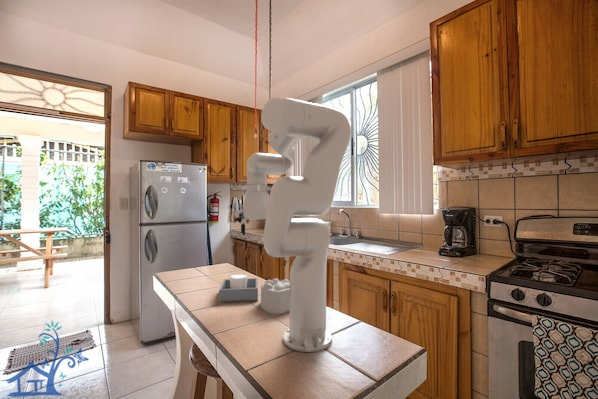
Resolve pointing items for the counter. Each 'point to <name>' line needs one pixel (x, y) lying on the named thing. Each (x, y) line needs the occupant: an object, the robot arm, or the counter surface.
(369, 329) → the counter surface
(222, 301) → the bin
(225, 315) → the counter surface
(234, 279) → the white cylinder
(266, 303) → the lumpy-topped squat cylinder
